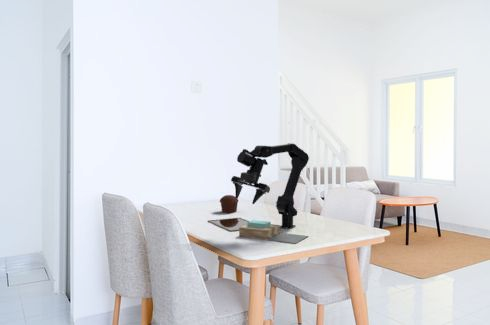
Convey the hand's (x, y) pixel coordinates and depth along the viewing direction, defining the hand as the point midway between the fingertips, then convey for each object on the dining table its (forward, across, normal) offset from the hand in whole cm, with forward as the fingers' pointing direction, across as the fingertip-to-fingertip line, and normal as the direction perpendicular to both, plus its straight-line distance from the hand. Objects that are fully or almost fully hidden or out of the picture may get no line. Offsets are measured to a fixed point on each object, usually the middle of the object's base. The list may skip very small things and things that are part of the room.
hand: (244, 201), depth 197 cm
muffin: (+4, -35, +52) cm, 62 cm away
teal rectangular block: (+9, +9, +5) cm, 13 cm away
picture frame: (+11, -12, +22) cm, 27 cm away
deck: (+12, +10, +7) cm, 17 cm away
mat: (+10, +24, +6) cm, 27 cm away
